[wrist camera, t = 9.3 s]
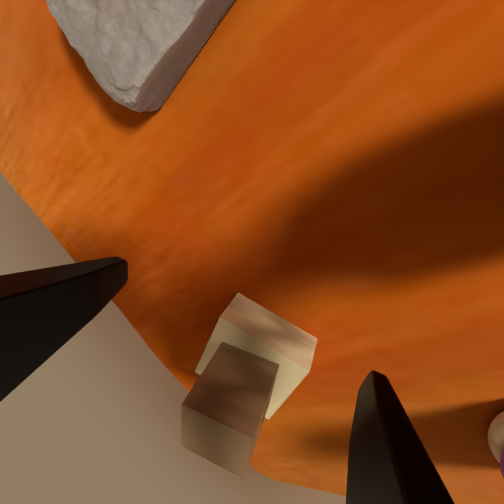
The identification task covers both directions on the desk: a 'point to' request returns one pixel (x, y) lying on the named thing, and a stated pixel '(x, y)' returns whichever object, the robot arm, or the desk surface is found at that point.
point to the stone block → (138, 43)
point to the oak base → (264, 344)
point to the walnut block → (228, 407)
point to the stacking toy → (497, 439)
